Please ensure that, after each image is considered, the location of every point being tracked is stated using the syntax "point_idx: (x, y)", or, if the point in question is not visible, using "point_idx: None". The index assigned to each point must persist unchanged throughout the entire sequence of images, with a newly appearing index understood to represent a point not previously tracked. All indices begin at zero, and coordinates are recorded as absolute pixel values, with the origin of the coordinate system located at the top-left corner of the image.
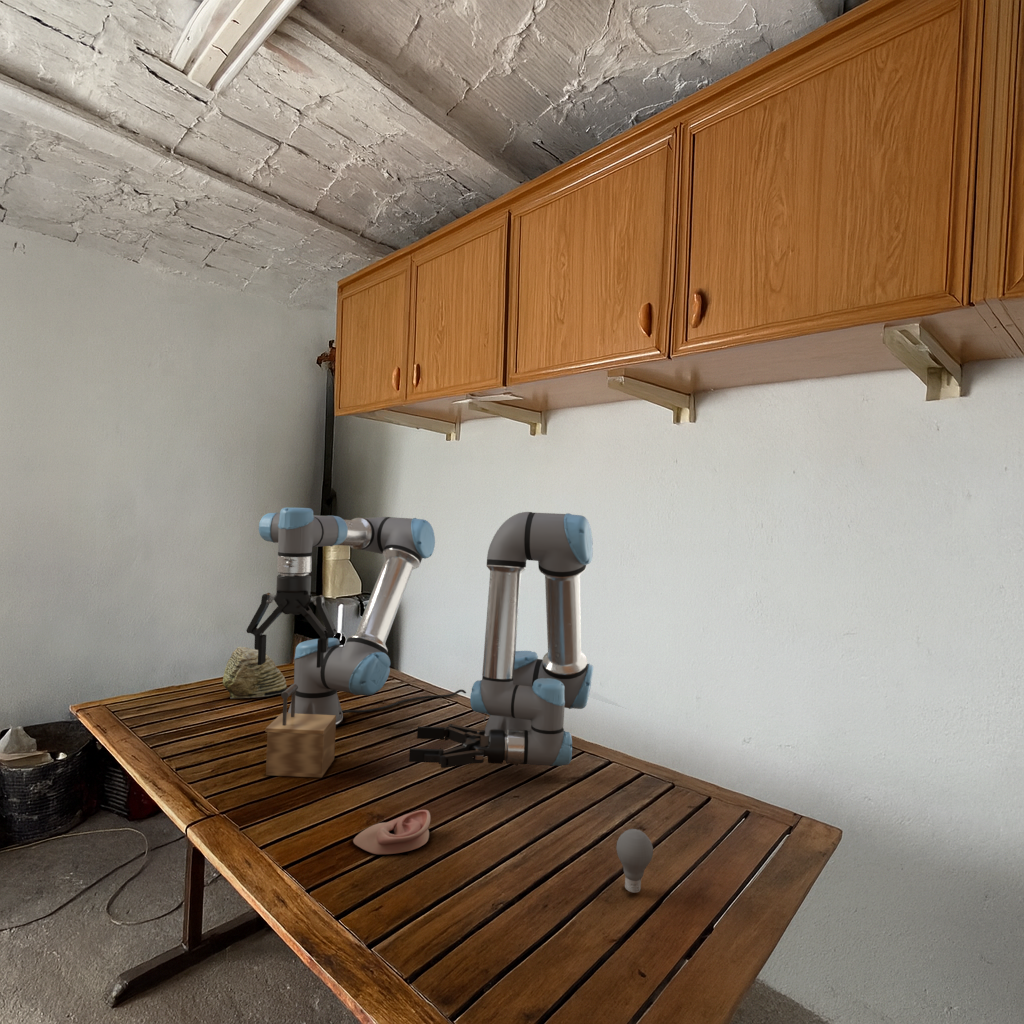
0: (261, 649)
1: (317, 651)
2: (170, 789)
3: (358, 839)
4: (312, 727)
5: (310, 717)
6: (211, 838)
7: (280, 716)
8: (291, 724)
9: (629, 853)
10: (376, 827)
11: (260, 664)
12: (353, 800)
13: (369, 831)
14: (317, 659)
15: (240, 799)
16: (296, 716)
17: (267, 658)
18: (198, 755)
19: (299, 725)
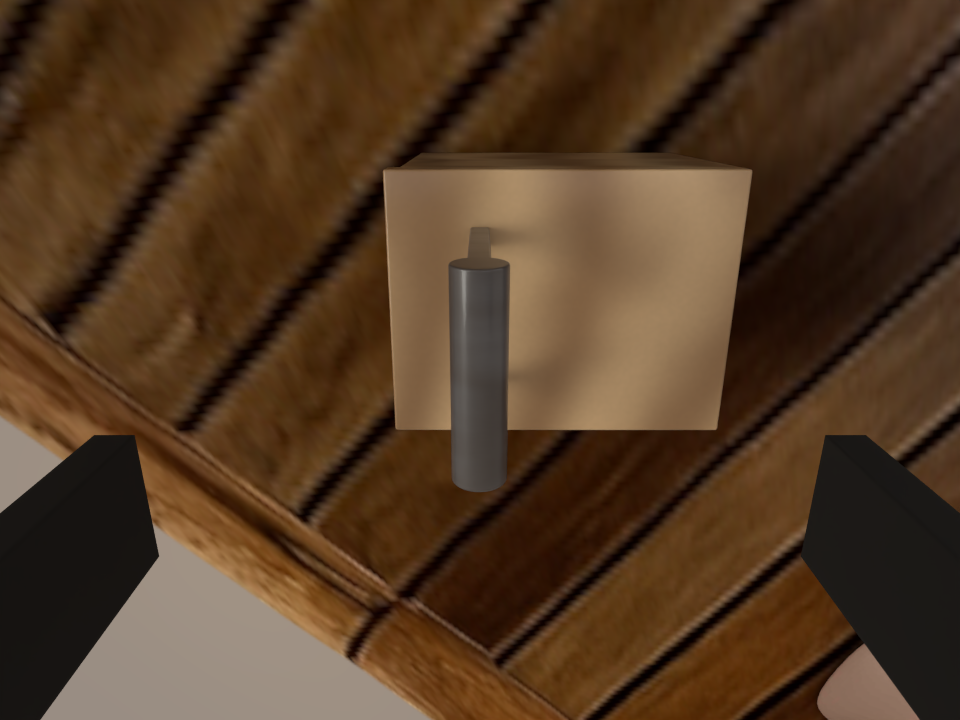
0: (47, 706)
1: (920, 713)
2: (151, 477)
3: (835, 716)
4: (647, 395)
5: (595, 236)
6: (442, 703)
7: (402, 242)
8: (516, 364)
9: None
10: (893, 705)
11: (151, 562)
12: (795, 496)
13: (871, 713)
14: (858, 624)
15: (419, 519)
16: (501, 228)
17: None
18: (37, 176)
19: (566, 374)
